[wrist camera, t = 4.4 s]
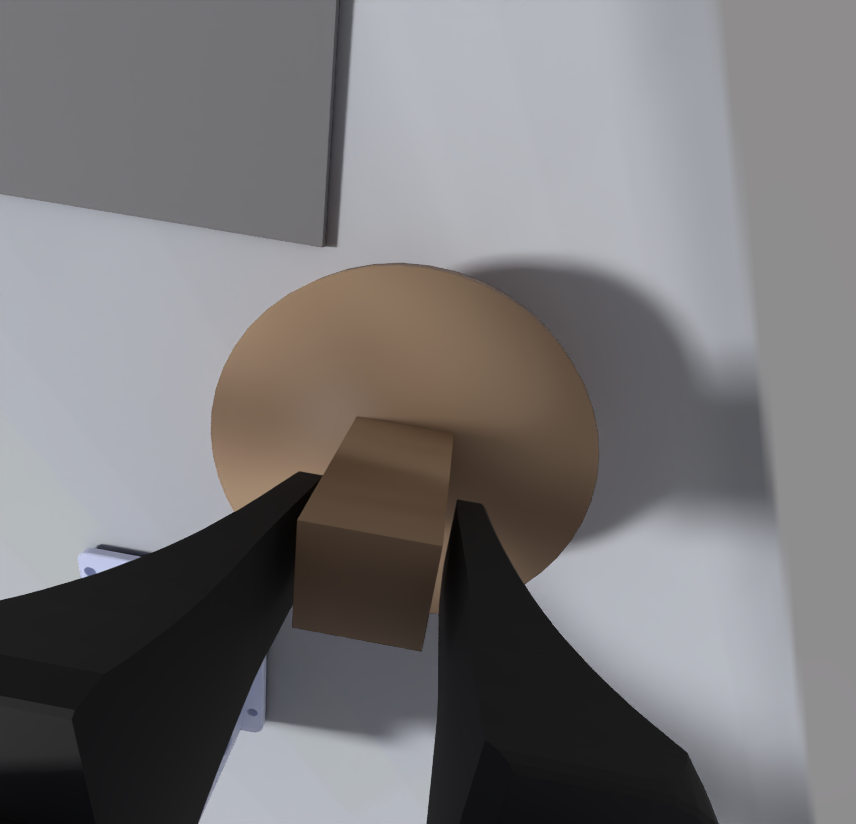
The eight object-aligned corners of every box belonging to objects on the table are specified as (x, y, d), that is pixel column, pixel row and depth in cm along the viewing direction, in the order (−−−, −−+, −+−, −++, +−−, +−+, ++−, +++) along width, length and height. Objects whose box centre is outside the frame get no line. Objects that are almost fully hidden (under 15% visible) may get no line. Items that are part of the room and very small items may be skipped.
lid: (540, 621, 16) (570, 808, 11) (227, 563, 16) (118, 721, 11) (645, 301, 12) (771, 369, 7) (220, 230, 12) (37, 245, 7)
